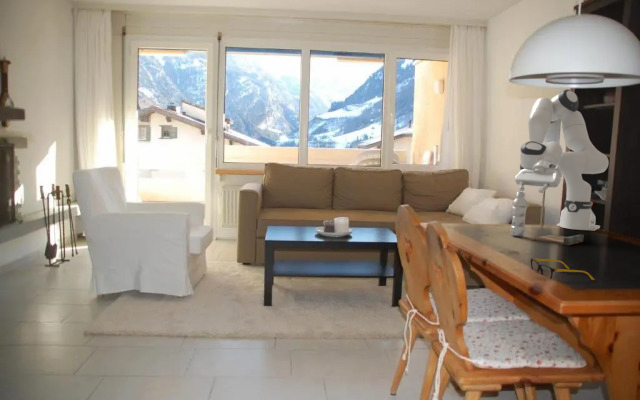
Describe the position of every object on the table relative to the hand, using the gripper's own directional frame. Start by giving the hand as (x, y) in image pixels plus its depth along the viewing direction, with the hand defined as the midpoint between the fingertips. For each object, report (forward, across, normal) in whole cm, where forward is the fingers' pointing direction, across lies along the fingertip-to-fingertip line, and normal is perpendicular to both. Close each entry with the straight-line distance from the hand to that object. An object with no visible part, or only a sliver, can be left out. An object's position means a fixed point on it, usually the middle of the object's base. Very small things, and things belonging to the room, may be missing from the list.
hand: (530, 190), depth 237 cm
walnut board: (+17, +17, +11) cm, 27 cm away
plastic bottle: (+22, +1, +7) cm, 23 cm away
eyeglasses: (+60, +46, -30) cm, 82 cm away
